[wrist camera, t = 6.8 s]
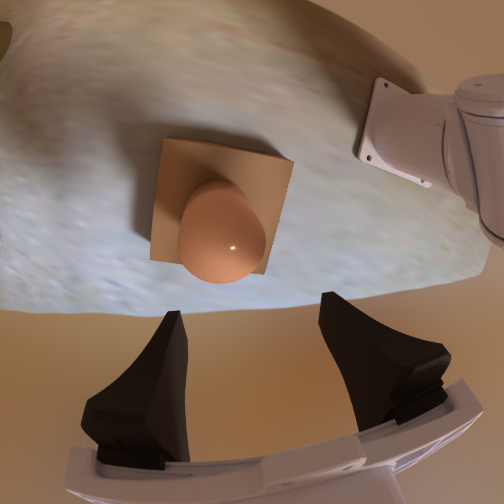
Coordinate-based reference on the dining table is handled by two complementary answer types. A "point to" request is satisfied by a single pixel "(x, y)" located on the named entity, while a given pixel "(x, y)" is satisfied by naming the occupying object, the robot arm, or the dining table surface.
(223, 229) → the tan rounded cylinder
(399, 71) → the dining table surface
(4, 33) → the cork
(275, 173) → the walnut board
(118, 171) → the dining table surface
